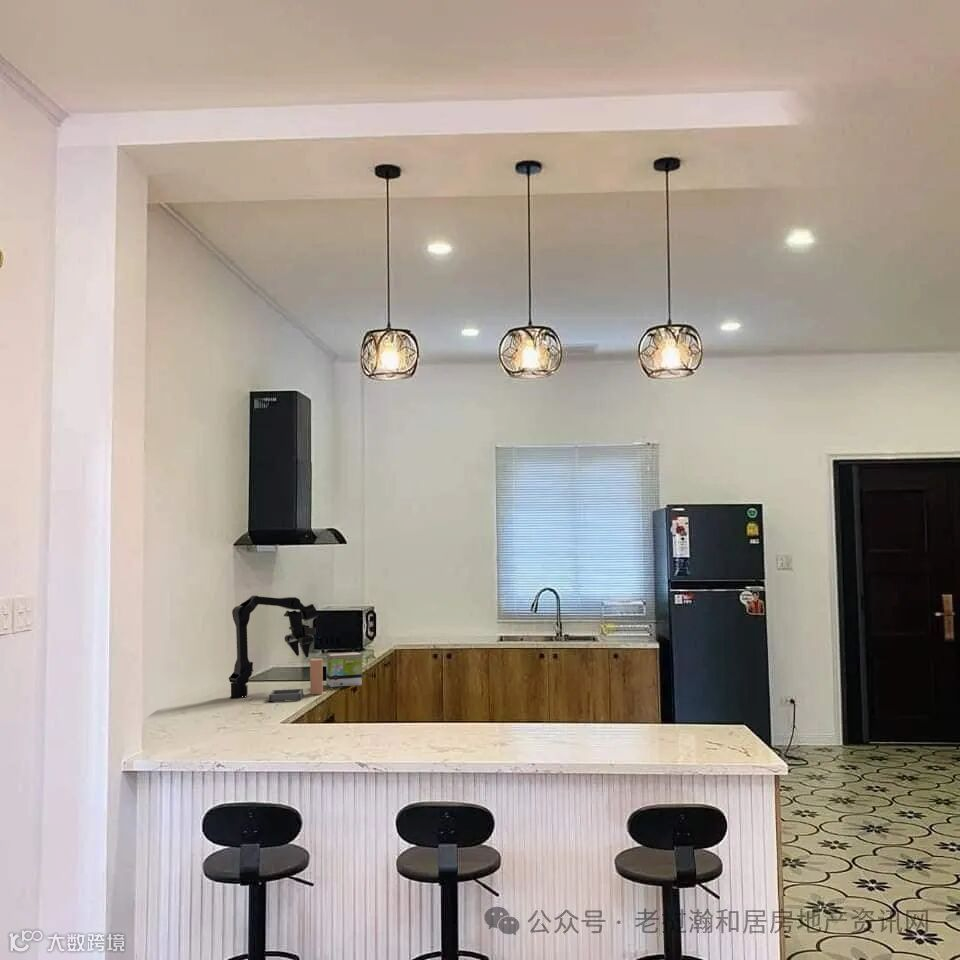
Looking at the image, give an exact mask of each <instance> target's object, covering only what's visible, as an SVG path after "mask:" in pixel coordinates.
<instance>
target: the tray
mask: <svg viewBox="0 0 960 960" xmlns="http://www.w3.org/2000/svg"><path fill="white" fill-rule="evenodd" d="M268 696H269V697H268V702H269V701H283V702H286V701H285V700H300V701H302V699H303V697H304V688H293V689H288V688H287V689H273V690H272V691H271V692H270V693H269V694H268ZM302 696H303V697H302ZM301 698H302V699H301Z"/></svg>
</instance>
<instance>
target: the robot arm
mask: <svg viewBox="0 0 960 960" xmlns="http://www.w3.org/2000/svg"><path fill="white" fill-rule="evenodd" d="M259 605H262V606H273V607H280V608H283V609H286V611H285V613H284V614H283V617H288V621H289V626H288V628H289V629H288V630H290V631H291V633H290V634H286V635H285V636H284V642H286V644H287V645H288V646H289V647H290V649H291V650H292V651H293V653H294V655H295V656H297V657H298V656H300V649H301V651H302V653H303V655H304V657H305V658H309V656H310V655H309V654H310V647H311V645H312V644H313V643H314V641H315V637H314V636H315V635H316V631H317V630H316V629H317V628H316V627H310V626H309V624H304V623H303V622H304V621H305V622H307V621H310V620H314V619H317V618H318V610H317V608H316V607H315V606H314V603H310V604H308V605H304V603H302V602H301V599H300V598H299V597H296V596H294V597H293V596H286V597H269V596H268V597H267V596H260V595H251V596H250V597H249V598H248V599H246V600H245V601H243V602H242V603H241V604H239V605H236V606H234V608H233V609H232V611H231V616H232V620H233V623H234V624H235V627H236V629H235V630H236V661H235V663H234V668H233V672H232V674H231V675H230V676H229V677H228V681H229V682H230V697H242V696H243V697H244V698H246V697H247V696H248V695H249V689H248V688H249V686H248V682H249V680H250V678H251V677H252V676H253V675H252V674H253V672H254V669H253V665H254V662H253V661H250V660H249V655H248V654H249V653H248V652H249V651H248V624H249V622H250V619H251V618H250V617H251V613H253V611H254V610H255V609H256V608H257V606H259ZM290 610H292V611H290ZM245 696H246V697H245Z"/></svg>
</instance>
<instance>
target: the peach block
mask: <svg viewBox="0 0 960 960" xmlns="http://www.w3.org/2000/svg"><path fill="white" fill-rule="evenodd" d="M309 667H310V668H309V675H310V679H309V680H310V681H309V682H310V688H309V689H310V690H309V691H310V695H311V694H320V695H323V693H324V678H323V677H324V675H323V673H324V672H323V671H324V669H323V658H322V657H321V658H311V659H309Z"/></svg>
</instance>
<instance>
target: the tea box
mask: <svg viewBox="0 0 960 960" xmlns="http://www.w3.org/2000/svg"><path fill="white" fill-rule="evenodd" d="M362 655H363V654H361V653H360V652H357V651H356V652H355V651H354V652H353V651H352V652H337V653H336V652H335V653H326V667H325V669H326V675H325V676H326V677H325V678H326V680H325V681H326V685H327V684H328V685H329V686H330V687H329V686H328V685H327V686H328V687H329V688H336V687H350V686H352V687H353V686H362V684H363V683H362V681H363V657H362Z"/></svg>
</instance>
